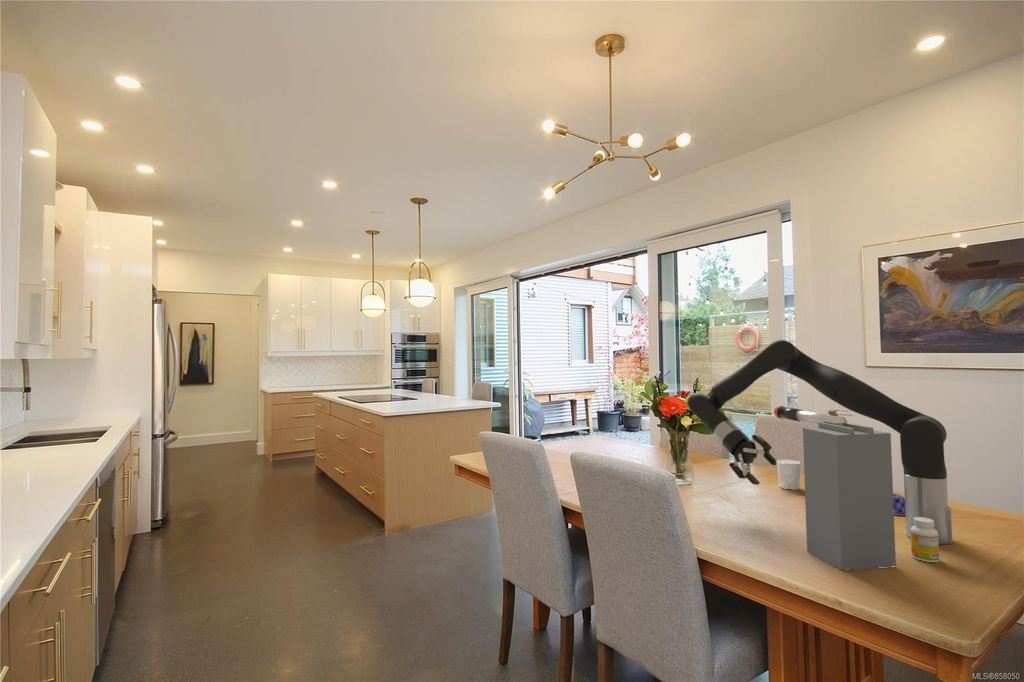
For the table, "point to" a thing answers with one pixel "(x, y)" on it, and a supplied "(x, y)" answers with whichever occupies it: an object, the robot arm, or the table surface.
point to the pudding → (898, 504)
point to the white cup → (788, 474)
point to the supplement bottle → (924, 540)
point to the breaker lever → (808, 416)
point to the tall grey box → (849, 496)
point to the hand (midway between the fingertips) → (766, 474)
